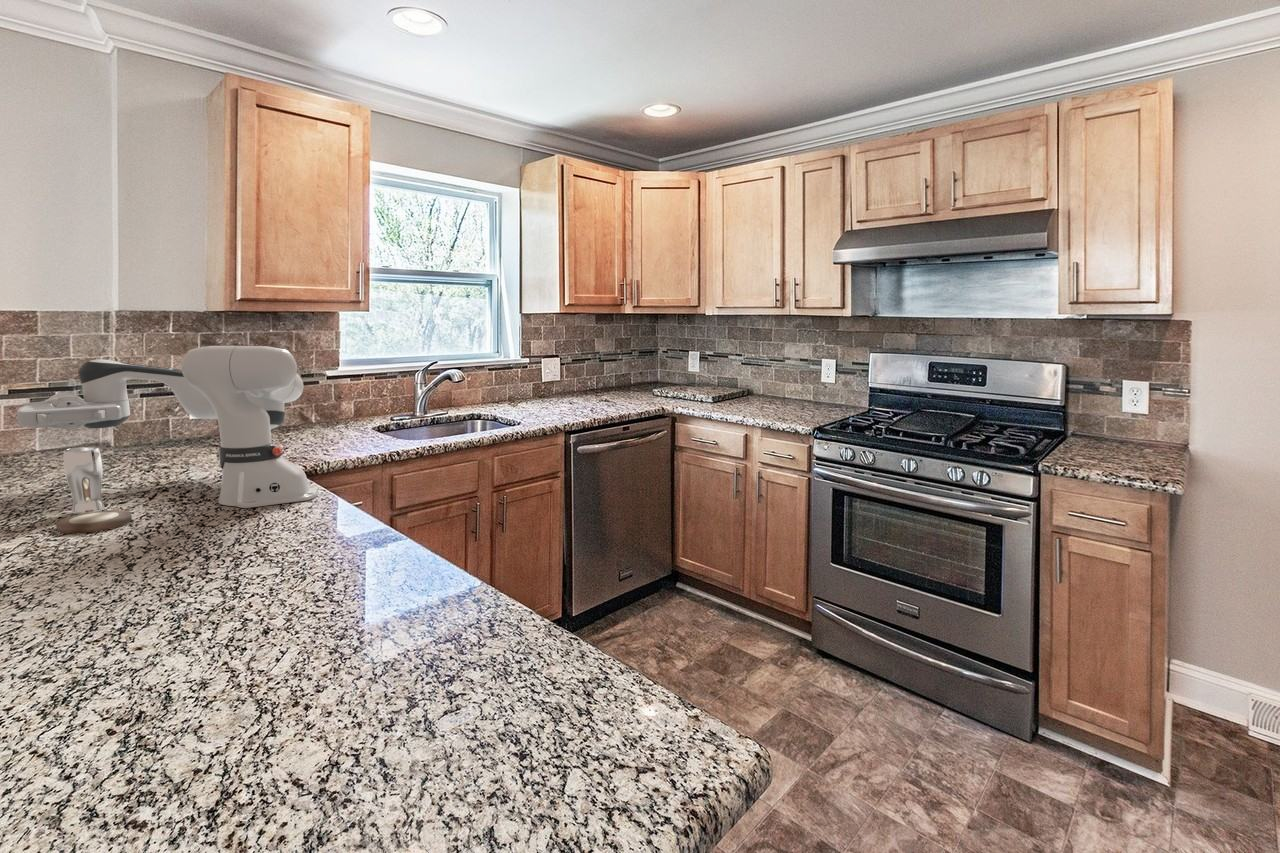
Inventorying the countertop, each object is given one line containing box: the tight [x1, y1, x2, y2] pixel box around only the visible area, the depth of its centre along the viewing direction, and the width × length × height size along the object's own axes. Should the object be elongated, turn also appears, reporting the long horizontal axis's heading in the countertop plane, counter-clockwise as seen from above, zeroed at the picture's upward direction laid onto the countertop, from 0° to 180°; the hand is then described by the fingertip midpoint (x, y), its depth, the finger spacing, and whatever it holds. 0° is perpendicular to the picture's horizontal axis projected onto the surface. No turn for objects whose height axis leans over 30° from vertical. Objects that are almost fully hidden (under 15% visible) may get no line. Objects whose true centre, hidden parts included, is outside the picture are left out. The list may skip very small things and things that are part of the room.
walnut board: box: [55, 509, 133, 535], centre depth 149 cm, size 13×13×2 cm
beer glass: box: [63, 446, 106, 515], centre depth 159 cm, size 7×7×15 cm
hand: (73, 417), depth 166 cm, fingers open, 8 cm apart
